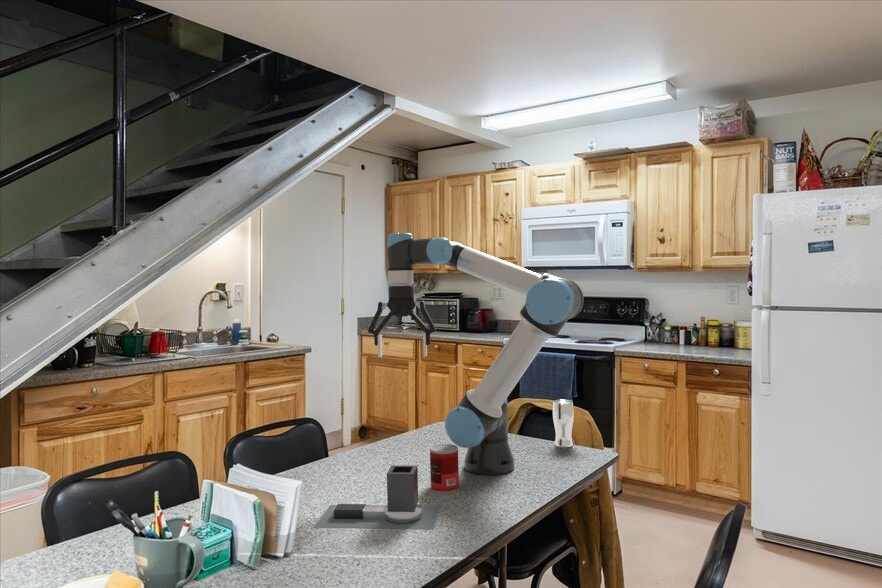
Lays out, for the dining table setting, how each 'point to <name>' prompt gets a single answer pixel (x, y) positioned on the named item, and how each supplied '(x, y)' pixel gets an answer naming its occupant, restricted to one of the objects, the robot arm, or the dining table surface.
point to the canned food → (444, 467)
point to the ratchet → (376, 513)
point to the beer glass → (563, 422)
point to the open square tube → (402, 488)
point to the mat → (378, 521)
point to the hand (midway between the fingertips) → (402, 356)
